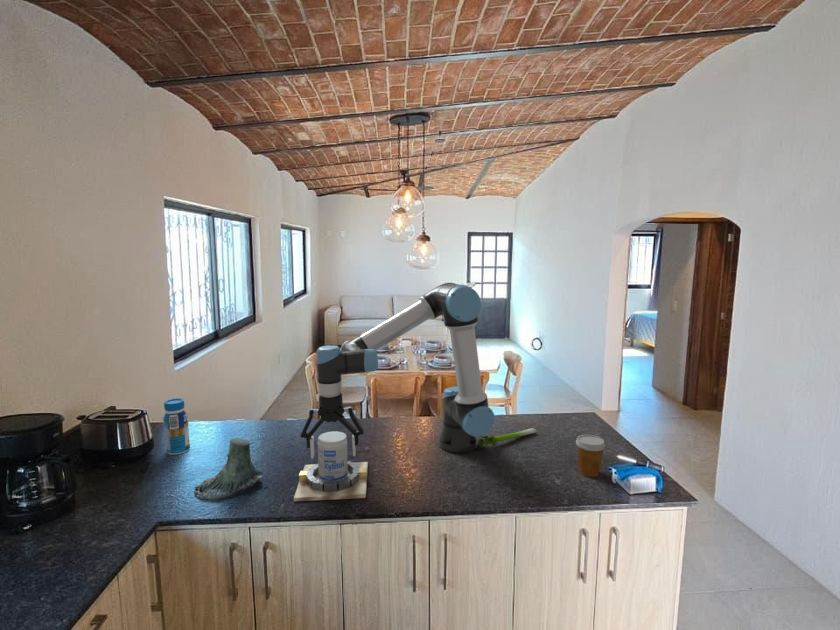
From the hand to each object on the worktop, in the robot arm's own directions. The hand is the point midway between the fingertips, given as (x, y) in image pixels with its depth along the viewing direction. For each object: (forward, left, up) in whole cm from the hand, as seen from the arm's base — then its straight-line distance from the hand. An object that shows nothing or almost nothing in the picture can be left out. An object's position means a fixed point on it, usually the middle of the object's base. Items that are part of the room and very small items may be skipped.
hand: (333, 455), depth 156 cm
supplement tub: (0, 0, -8) cm, 8 cm away
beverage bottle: (+62, -30, -9) cm, 70 cm away
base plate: (0, 0, -9) cm, 9 cm away
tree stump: (+34, -1, -10) cm, 35 cm away
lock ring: (0, 0, -8) cm, 8 cm away
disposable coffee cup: (-87, +2, -9) cm, 87 cm away
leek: (-66, -27, -10) cm, 72 cm away
